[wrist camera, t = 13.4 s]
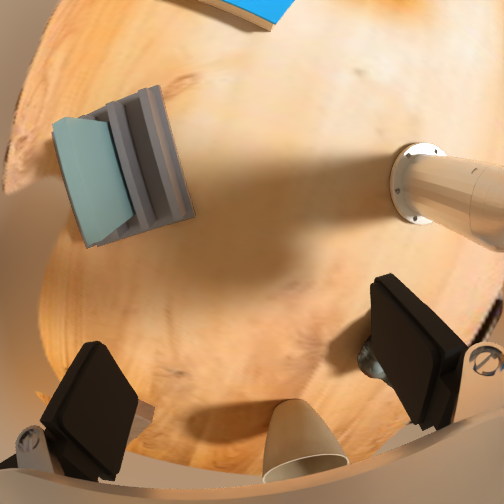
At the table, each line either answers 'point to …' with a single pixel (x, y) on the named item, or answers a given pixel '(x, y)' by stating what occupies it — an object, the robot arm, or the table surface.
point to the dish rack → (144, 163)
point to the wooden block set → (141, 419)
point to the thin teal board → (93, 176)
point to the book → (254, 10)
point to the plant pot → (299, 444)
